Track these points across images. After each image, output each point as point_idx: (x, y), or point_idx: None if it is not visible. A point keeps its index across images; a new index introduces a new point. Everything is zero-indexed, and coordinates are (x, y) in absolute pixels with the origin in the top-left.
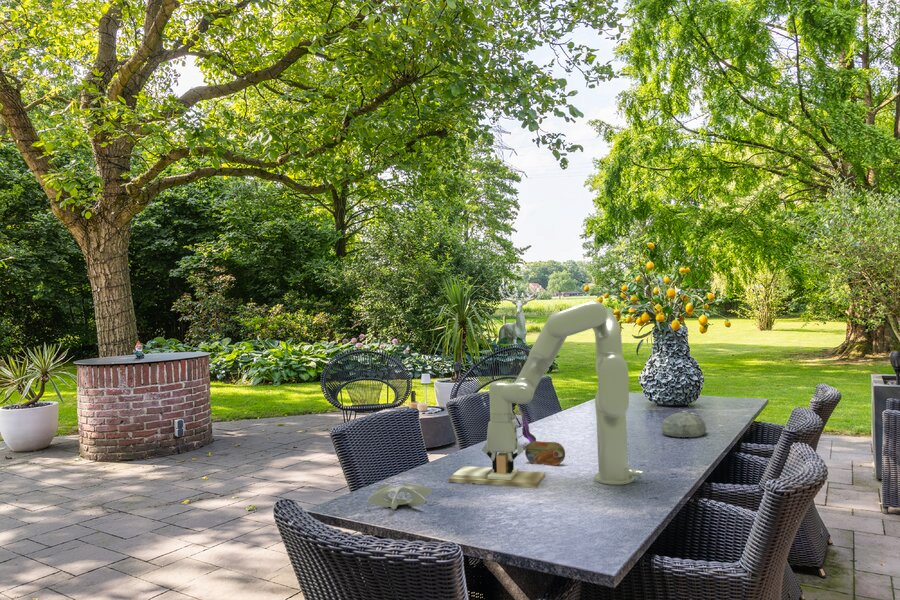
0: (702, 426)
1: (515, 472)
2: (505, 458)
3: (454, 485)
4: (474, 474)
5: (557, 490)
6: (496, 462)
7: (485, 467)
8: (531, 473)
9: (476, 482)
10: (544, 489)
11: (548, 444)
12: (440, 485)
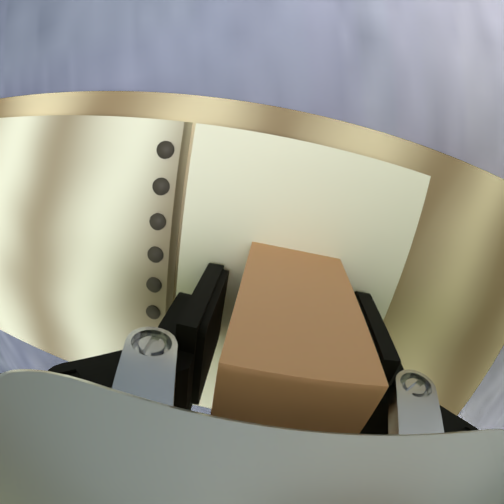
0: None
1: (390, 290)
2: None
3: (45, 358)
4: (79, 343)
5: (495, 415)
6: (203, 372)
7: (93, 126)
8: (496, 239)
9: None
10: (462, 416)
11: None
12: (6, 346)
